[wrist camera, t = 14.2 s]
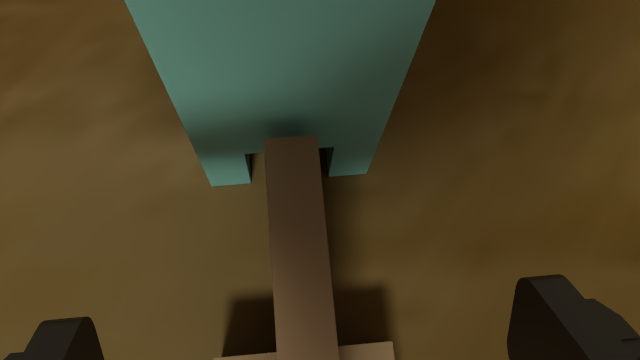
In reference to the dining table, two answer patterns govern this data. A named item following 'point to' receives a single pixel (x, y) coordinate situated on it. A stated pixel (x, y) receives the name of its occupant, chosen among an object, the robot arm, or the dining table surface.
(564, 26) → the dining table surface
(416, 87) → the dining table surface
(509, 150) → the dining table surface
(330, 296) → the slotted rail
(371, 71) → the slotted tab
